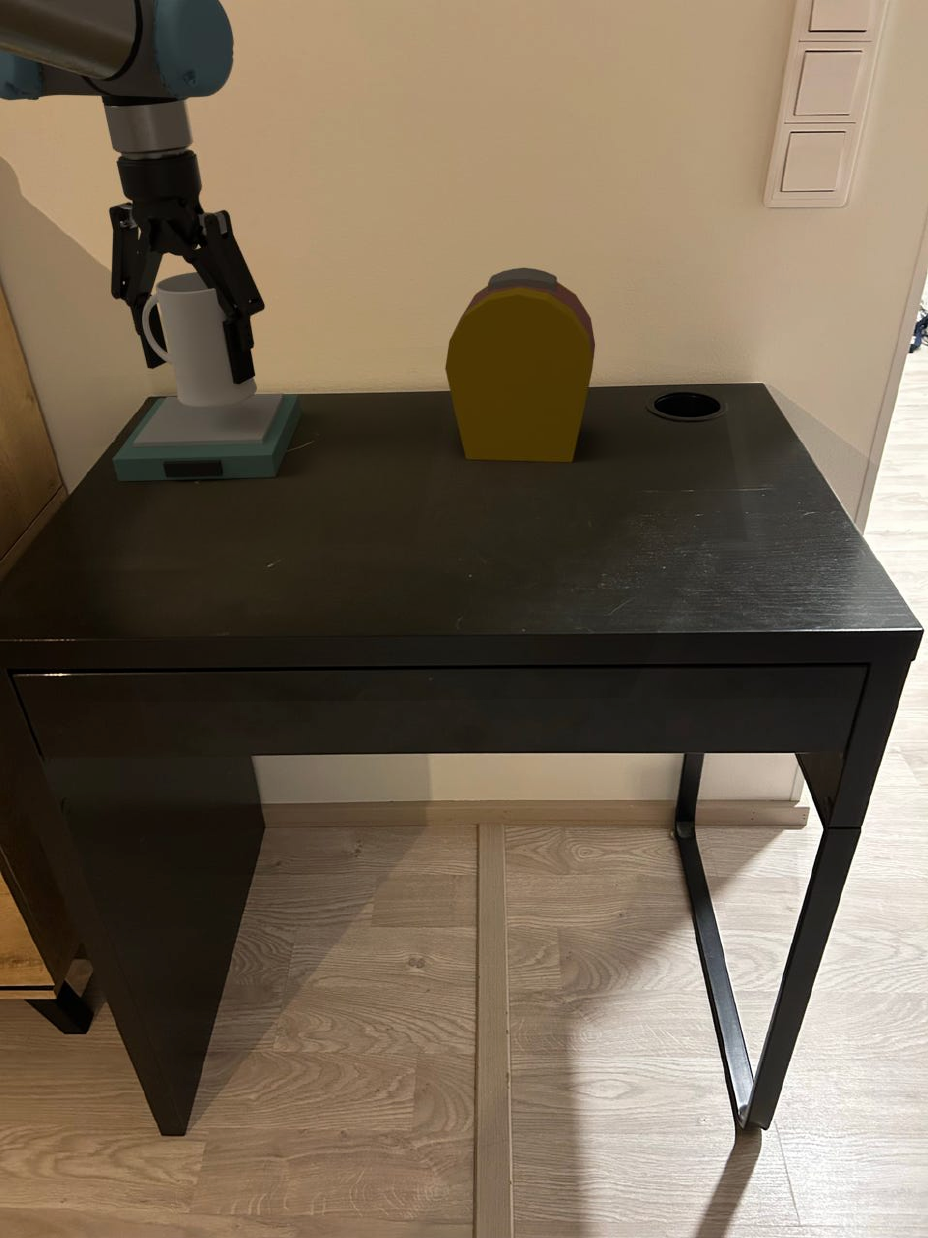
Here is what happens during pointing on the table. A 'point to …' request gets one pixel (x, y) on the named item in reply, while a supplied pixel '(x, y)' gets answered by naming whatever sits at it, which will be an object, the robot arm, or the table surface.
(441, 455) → the table surface
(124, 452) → the scale
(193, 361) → the mug
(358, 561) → the table surface
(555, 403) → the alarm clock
